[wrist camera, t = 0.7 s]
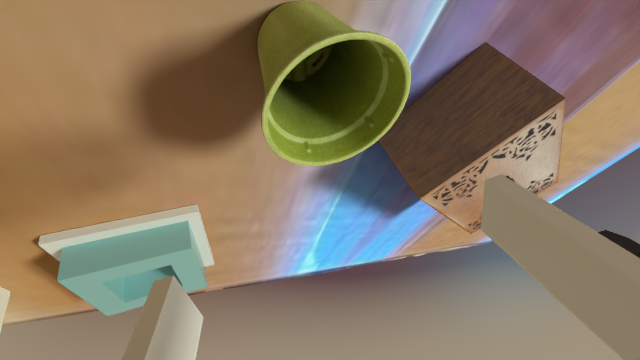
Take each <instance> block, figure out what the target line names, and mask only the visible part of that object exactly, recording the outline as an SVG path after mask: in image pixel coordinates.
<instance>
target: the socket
mask: <svg viewBox="0 0 640 360" xmlns="http://www.w3.org/2000/svg"><path fill="white" fill-rule="evenodd" d="M38 245H39V246H40V247H42V248H43V249H44V250H45V251H47V252H48V253H49V254H50V255H52V256H53V257H54V258H55V259H57V260H58V261H59V262H60V266H59V272H58V278H57V282H59V283H60V284H62V285H63V286H65V287H66V288H67V289H69V290H70V291H72V292H73V293H75V294H76V295H78V296H79V297H81V298H82V299H83V300H85V301H86V302H88V303H89V304H91V305H92V306H94V307H95V308H97V309H98V310H99V311H101V312H102V313H104V314H106V315H107V316H110V315H113V314H117V313H120V312H124V311H127V310H131V309H134V308H137V307H141V306H144V304H145V302H146V300H147V297H148V295H149V292H150V290H151V287H152V285H153V282H154V281H156V280H159V279H162V278H165V277H169V276H172V275H174V276H175V278H176V279H177V281H178V282H179V284H180V285H181V286H182V288H183V289H184V291H185V292H186V293H188V292H192V291H195V290H198V289H202V288H205V287H207V282H206V275H205V268H204V267H207V266H211V265H214V258H213V255H212V252H211V248H210V245H209V241H208V238H207V235H206V231H205V228H204V224H203V221H202V218H201V214H200V211H199V208H198V204H196V205H191V206H186V207H181V208H176V209H171V210H166V211H161V212H156V213H151V214H146V215H141V216H136V217H131V218H126V219H121V220H116V221H111V222H106V223H101V224H96V225H91V226H86V227H81V228H76V229H71V230H66V231H61V232H56V233H51V234H46V235H41V236H40V238H39V243H38Z"/></svg>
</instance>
